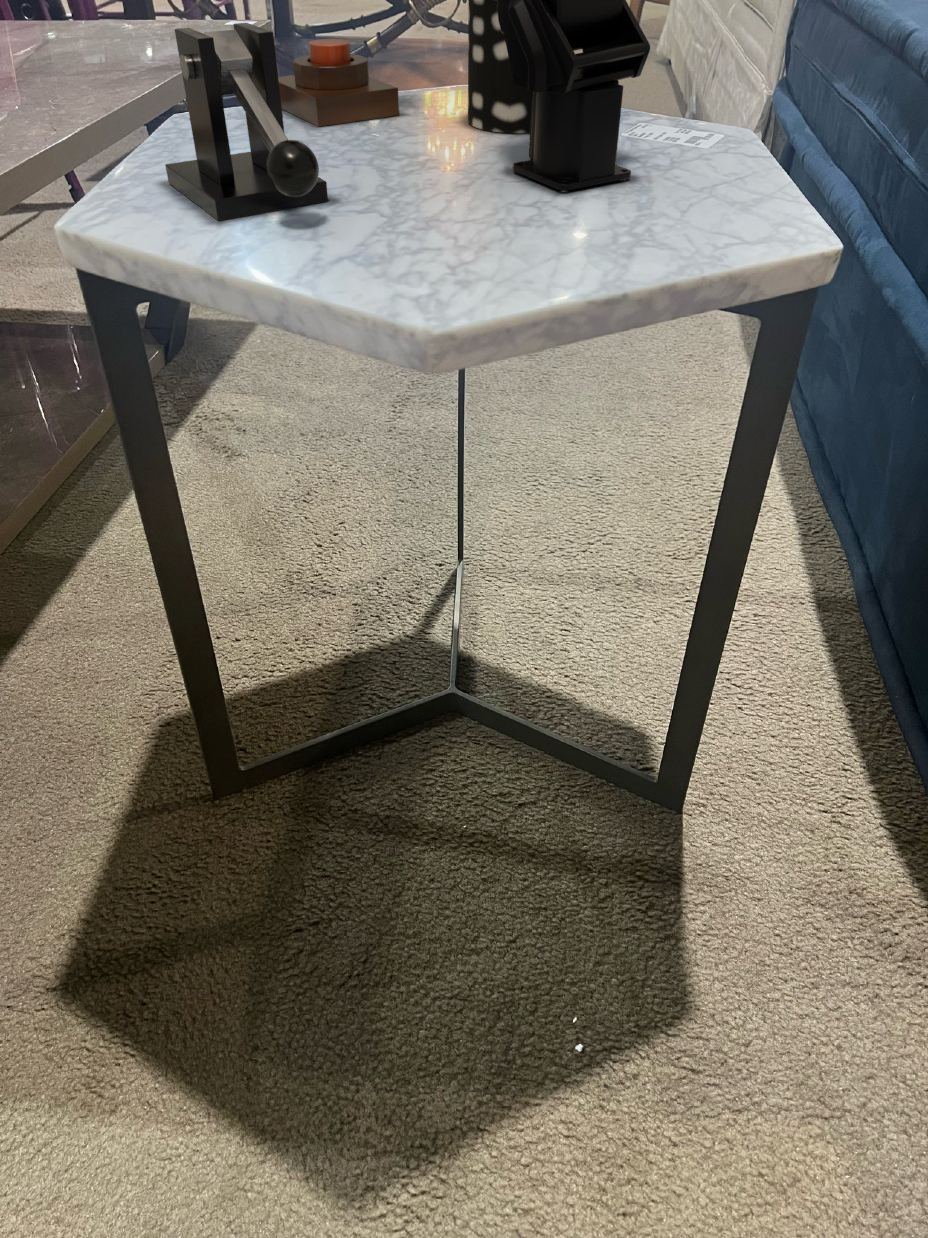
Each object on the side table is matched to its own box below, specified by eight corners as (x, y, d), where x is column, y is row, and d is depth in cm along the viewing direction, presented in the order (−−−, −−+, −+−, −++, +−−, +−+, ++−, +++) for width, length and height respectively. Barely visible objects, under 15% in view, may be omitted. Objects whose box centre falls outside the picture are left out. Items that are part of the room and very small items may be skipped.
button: (358, 65, 82) (356, 43, 81) (321, 70, 81) (319, 46, 80) (340, 59, 84) (338, 37, 83) (303, 63, 83) (301, 40, 82)
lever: (324, 203, 59) (330, 160, 56) (278, 211, 58) (281, 168, 55) (241, 68, 63) (243, 21, 60) (196, 73, 62) (195, 26, 59)
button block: (399, 115, 83) (397, 63, 81) (318, 126, 80) (313, 73, 77) (348, 94, 90) (345, 46, 87) (272, 104, 86) (266, 54, 84)
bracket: (328, 201, 64) (313, 35, 58) (218, 220, 61) (189, 47, 54) (270, 166, 70) (252, 14, 64) (168, 183, 67) (137, 24, 61)
